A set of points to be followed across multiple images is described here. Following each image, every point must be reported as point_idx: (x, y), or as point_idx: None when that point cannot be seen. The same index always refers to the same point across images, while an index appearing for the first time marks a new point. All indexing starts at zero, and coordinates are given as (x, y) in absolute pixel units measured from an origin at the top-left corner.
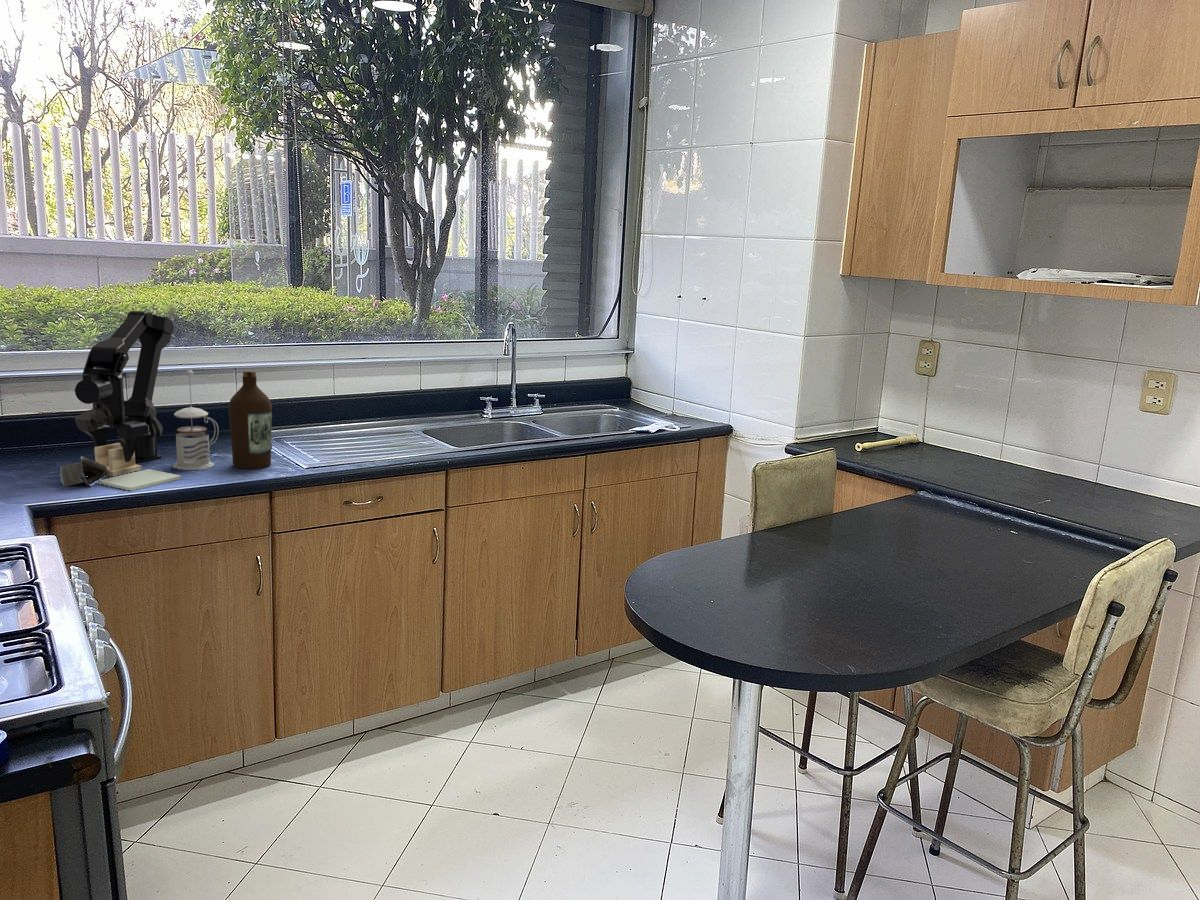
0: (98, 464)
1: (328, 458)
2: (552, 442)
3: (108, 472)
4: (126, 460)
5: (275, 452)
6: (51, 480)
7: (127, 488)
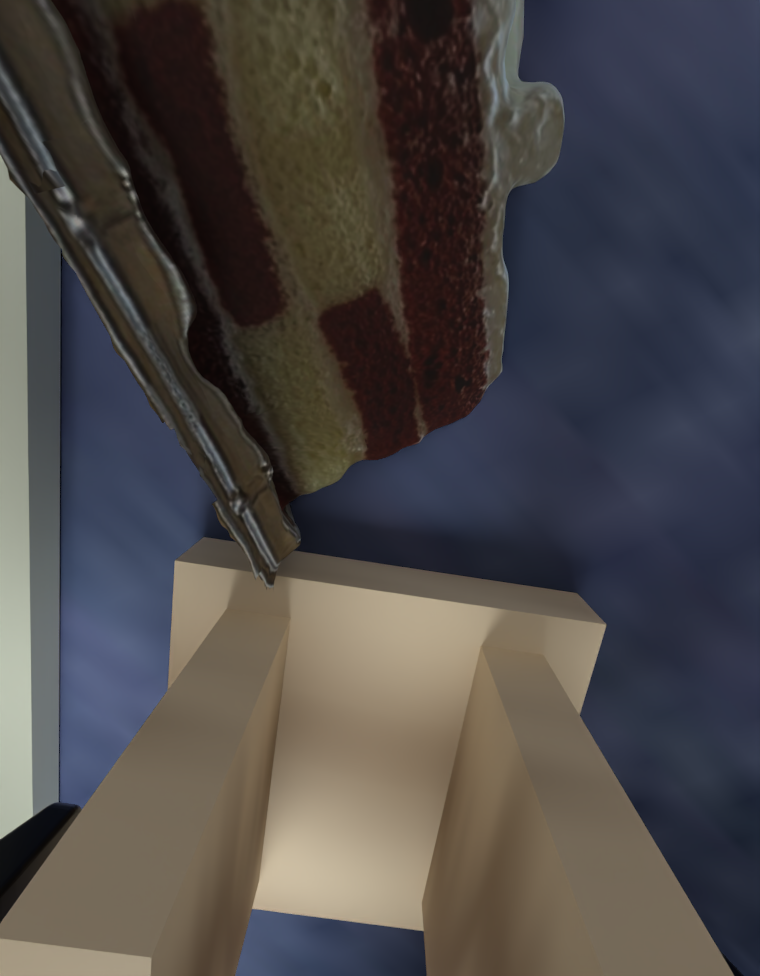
0: (186, 417)
1: None
2: None
3: None
4: (30, 819)
5: None
6: (734, 28)
7: None
